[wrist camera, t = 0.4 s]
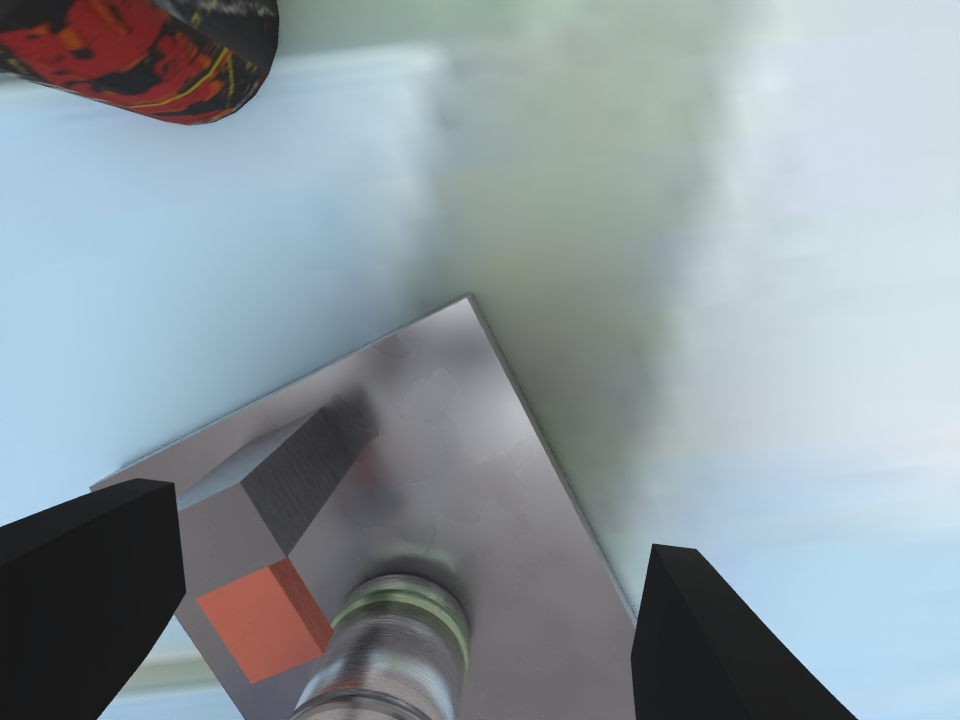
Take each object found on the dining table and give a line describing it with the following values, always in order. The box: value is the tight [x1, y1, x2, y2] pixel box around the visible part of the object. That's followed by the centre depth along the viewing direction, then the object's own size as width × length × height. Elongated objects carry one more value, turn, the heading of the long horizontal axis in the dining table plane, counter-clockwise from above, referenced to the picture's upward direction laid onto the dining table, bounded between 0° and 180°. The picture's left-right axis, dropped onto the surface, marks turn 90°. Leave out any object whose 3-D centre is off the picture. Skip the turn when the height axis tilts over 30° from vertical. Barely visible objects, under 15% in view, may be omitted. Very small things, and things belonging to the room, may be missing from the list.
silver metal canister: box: [287, 574, 471, 720], centre depth 17 cm, size 5×5×6 cm
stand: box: [89, 292, 637, 720], centre depth 18 cm, size 14×18×7 cm
